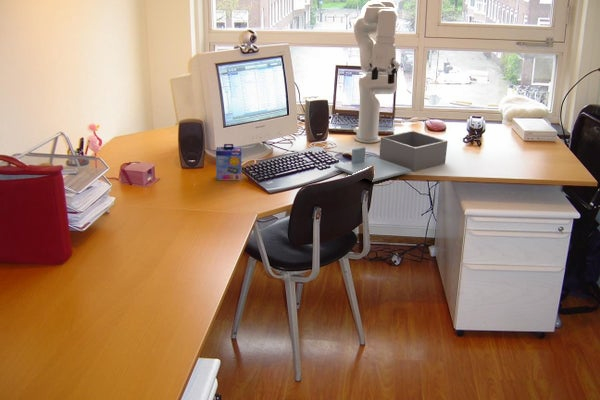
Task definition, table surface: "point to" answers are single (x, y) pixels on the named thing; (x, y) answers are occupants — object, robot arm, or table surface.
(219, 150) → the ink cartridge box
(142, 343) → the table surface
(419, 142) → the tub
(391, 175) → the lid
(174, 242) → the table surface
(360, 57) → the robot arm
